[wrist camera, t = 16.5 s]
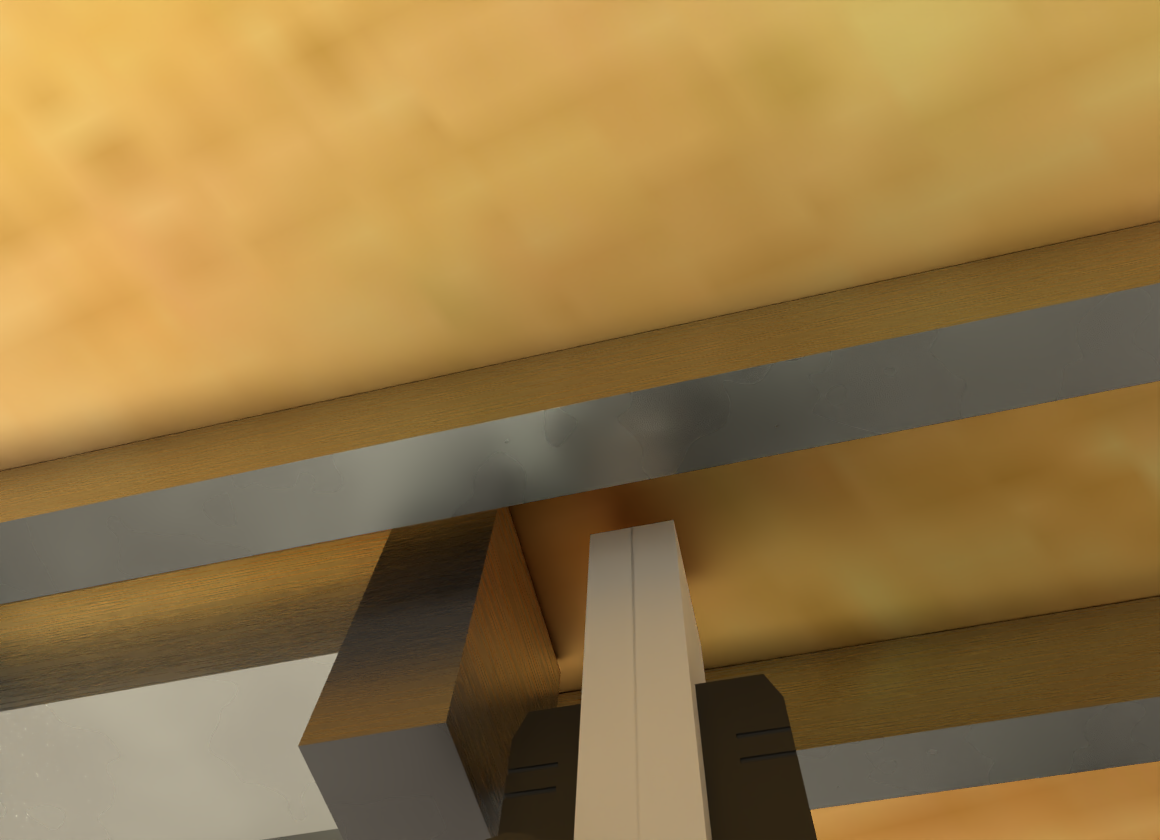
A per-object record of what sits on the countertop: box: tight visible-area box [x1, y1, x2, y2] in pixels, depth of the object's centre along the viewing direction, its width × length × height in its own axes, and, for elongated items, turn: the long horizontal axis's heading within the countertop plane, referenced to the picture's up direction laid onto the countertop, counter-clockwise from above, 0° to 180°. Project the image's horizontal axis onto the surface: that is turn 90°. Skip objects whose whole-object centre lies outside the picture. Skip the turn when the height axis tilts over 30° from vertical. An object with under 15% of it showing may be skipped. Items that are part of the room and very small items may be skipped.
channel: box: [0, 222, 1160, 840], centre depth 16 cm, size 38×9×6 cm, turn 104°
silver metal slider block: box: [0, 507, 561, 840], centre depth 16 cm, size 12×4×6 cm, turn 104°
